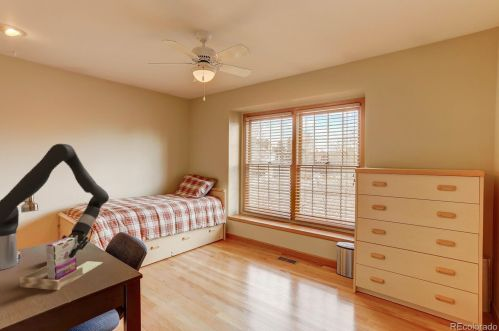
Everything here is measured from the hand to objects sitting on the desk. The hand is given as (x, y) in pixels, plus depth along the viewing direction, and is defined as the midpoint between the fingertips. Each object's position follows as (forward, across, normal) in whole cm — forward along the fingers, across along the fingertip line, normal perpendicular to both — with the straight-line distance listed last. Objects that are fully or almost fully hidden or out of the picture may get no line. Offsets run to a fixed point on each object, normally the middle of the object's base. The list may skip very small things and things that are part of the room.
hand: (65, 256), depth 122 cm
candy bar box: (+7, 0, +5) cm, 9 cm away
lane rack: (+9, -4, +6) cm, 12 cm away
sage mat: (-1, 0, +17) cm, 17 cm away
